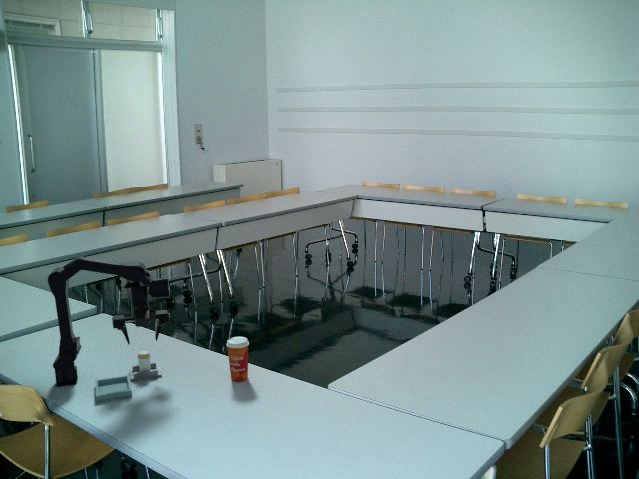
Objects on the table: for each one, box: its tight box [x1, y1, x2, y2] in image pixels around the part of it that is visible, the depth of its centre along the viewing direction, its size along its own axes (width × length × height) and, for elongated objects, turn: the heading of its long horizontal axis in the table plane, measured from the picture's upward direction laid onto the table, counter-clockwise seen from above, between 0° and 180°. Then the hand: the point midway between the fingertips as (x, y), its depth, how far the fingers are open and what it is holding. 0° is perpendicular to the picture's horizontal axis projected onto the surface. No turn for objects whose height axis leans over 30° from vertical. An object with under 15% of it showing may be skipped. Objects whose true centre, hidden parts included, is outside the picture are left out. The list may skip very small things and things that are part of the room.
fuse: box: [137, 350, 152, 372], centre depth 225 cm, size 4×4×8 cm
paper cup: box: [225, 336, 250, 383], centre depth 220 cm, size 8×8×14 cm
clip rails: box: [128, 361, 163, 382], centre depth 226 cm, size 10×8×2 cm
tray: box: [94, 374, 133, 403], centre depth 213 cm, size 11×13×2 cm
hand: (142, 342), depth 224 cm, fingers open, 9 cm apart
